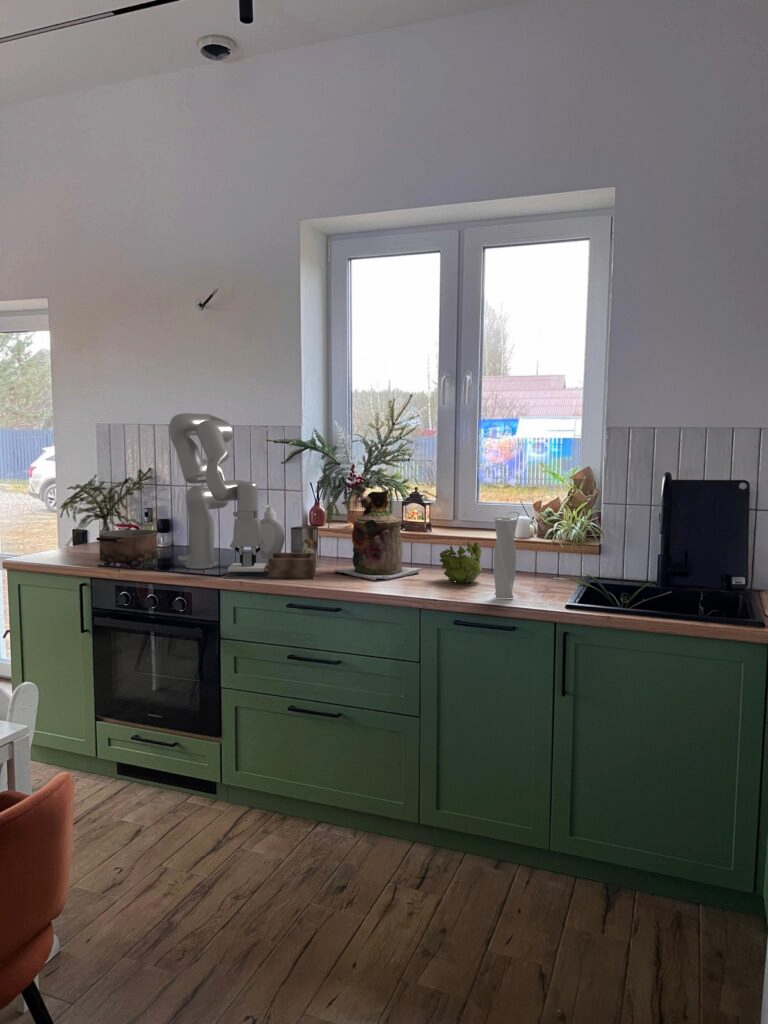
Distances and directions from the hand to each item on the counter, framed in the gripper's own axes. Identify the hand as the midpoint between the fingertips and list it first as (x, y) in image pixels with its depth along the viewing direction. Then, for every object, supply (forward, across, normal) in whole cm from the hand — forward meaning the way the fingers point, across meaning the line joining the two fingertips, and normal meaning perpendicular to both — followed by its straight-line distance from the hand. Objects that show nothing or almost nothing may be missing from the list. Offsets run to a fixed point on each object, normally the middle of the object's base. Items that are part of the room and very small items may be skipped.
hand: (248, 564), depth 280 cm
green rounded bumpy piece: (+5, +77, -10) cm, 78 cm away
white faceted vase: (+5, +88, -36) cm, 96 cm away
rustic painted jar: (+4, +48, +5) cm, 48 cm away
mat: (+4, 0, 0) cm, 4 cm away
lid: (+2, 0, 0) cm, 2 cm away
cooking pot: (+4, -54, +36) cm, 65 cm away
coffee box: (+4, +19, +17) cm, 26 cm away
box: (+4, +16, 0) cm, 17 cm away
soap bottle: (+4, +5, +17) cm, 18 cm away
